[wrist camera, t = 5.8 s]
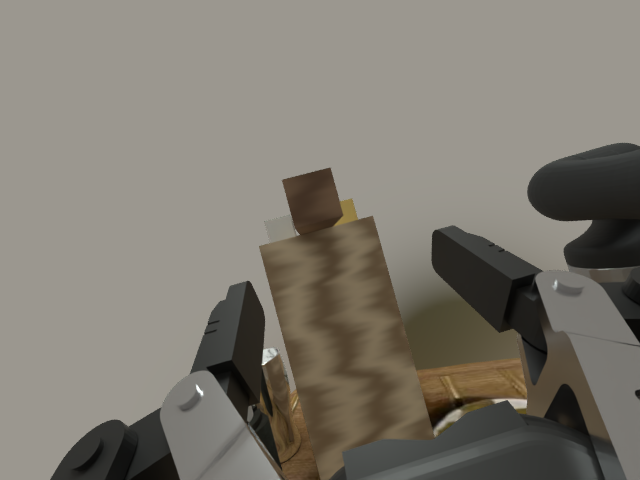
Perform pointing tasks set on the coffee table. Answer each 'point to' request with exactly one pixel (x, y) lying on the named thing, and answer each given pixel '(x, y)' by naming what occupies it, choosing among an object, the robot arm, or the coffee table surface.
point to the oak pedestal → (345, 341)
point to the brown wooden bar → (313, 201)
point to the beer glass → (278, 404)
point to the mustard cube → (347, 212)
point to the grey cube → (280, 228)
